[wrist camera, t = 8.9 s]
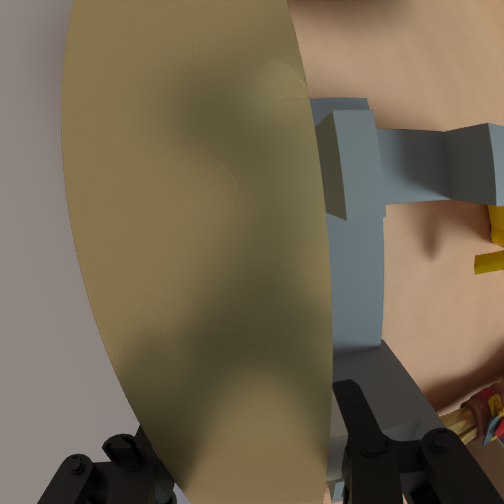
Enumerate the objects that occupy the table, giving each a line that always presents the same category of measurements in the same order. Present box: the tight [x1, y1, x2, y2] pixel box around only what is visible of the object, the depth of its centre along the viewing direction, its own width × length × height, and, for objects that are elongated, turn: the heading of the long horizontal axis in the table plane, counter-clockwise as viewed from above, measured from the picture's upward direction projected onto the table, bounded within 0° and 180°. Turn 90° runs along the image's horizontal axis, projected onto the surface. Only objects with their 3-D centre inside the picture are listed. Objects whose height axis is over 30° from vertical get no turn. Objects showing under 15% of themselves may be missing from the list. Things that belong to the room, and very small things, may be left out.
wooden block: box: [465, 435, 504, 501], centre depth 18 cm, size 10×10×20 cm
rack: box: [310, 98, 504, 503], centre depth 15 cm, size 27×7×13 cm, turn 8°
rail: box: [61, 0, 333, 504], centre depth 8 cm, size 26×4×5 cm, turn 8°
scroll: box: [440, 378, 504, 446], centre depth 20 cm, size 27×10×10 cm, turn 105°
